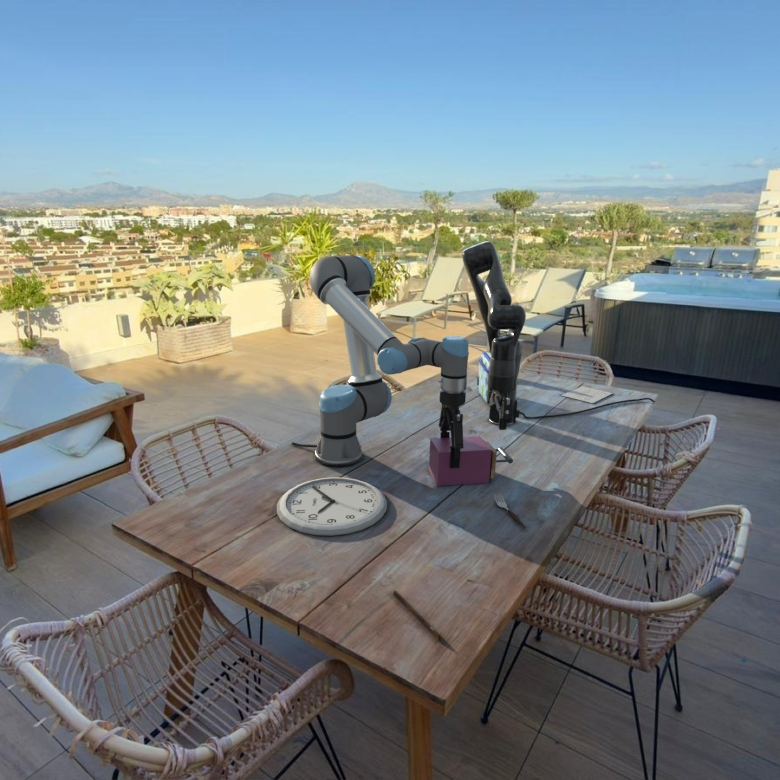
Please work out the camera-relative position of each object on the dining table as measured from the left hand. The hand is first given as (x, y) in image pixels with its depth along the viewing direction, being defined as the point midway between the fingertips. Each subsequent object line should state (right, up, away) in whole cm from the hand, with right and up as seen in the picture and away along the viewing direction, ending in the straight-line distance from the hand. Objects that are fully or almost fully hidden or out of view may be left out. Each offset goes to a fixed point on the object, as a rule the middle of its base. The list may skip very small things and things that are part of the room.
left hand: (449, 459), depth 158 cm
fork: (+14, -12, -19) cm, 26 cm away
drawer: (+8, -4, +3) cm, 10 cm away
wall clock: (-34, -10, -16) cm, 39 cm away
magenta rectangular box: (+3, -5, +2) cm, 7 cm away
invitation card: (+74, +19, +84) cm, 113 cm away
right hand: (+15, +11, 0) cm, 18 cm away
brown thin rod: (-13, -23, -56) cm, 62 cm away
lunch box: (+27, +17, +75) cm, 82 cm away
